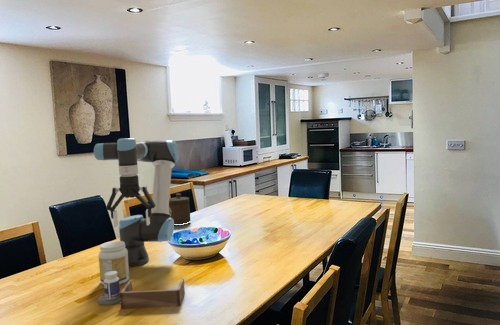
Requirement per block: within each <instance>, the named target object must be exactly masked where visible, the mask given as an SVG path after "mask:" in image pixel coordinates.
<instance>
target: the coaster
mask: <svg viewBox="0 0 500 325" xmlns="http://www.w3.org/2000/svg"><path fill="white" fill-rule="evenodd" d="M97 298H98V299H97V303H98V304H99V305H101V306H113V305H118V304H121V303H120V297H118V298H117V299H113V300H107V299H106V298H105V294H102V295H101V296H99V297H97Z"/></svg>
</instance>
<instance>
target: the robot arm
mask: <svg viewBox="0 0 500 325" xmlns="http://www.w3.org/2000/svg"><path fill="white" fill-rule="evenodd" d="M116 141H117V142H105V143H104V142H102V143H96V144H95V145H94V147H93V155H94V158H95V159H96V160H98V161H115V160H117V161H118V173H119V174H118V175H119V187H116V186H115V187H112V191H111V195H110V196H109V200H108V202H107V205H106V207H105V210H107V211H110V218H111V219H112V220H113V227H114V228H116V227H118V229H119V230H118V232H119V241H123V242H125V248H126V249H127V251H128V264H129V267H137V266H142V265H144V264H146V263H148V262H149V261H150V257H149V254H148V251H147V248H146V245H145V242H147V243H153V242H156V243H157V242H158V243H162V242H168V241H170V240H171V239H172V237H173V234H174V231H175V226H174V220H173V218H171V215H170V214H169V199H170V192H171V179H172V169H173V168H174V167H175V164H176V163H177V162H179V160H180V151H179V148H178V144H177V142H176V141H175V140H173V139H171V140H170V139H165V140H164V139H162V140H161V139H159V140H146V141H145V140H144V141H137V140H136V138H134V137H130V138H127V137H125V138H118V140H116ZM138 162H143V163H152V165H153V166H154V176H153V184H152V185H153V186H152V196H151V195H150V193H149V191H148V187H147V185H144V186H140V184H139V175H138V174H139V168H138V167H139V166H138ZM140 191H141V192H142V193H143V194H144V197H145V198H144V197H143V196H142V194H140V193H139V192H140ZM119 192H120V196H119V197H118V199H117V200H116V201H115V198H116V197H117V194H118V193H119ZM128 198H130V199H131V198H136V199H137V200H138V201H139V202H140V203H141V204H142V205H143V206H144V207H145V208H146V210H145V218H144V215H143V214H136V215H135V214H134V215H131V216H126V217H124V218H122V219H120V221H119V219H118V210H117V207H118V206H119V205H120V203H121V202H122V201H123V199H128ZM114 201H115V202H114ZM113 202H114V204H113ZM118 221H119V222H118Z"/></svg>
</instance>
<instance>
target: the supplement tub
mask: <svg viewBox="0 0 500 325" xmlns="http://www.w3.org/2000/svg"><path fill="white" fill-rule="evenodd" d="M99 247H100V248H99V250H100V251H99V253H98V266H99V277H100V278H99V280H100V281H99V282H100V283H101V284H102V285H103V286H104V279H105V273H106V272H109V271H117V277H118V278H119V285H122V284H125V283H128V282H129V281H130V280H129V279H130V268H129V264H128V251H127V249H126V248H125V242H123V241H120V240H113V241H107V242H104V243H101V244H100V245H99Z"/></svg>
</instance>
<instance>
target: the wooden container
mask: <svg viewBox="0 0 500 325" xmlns="http://www.w3.org/2000/svg"><path fill="white" fill-rule="evenodd" d="M168 212H169V214H170V215H171V218H173V220H174V224H183V223H187V222H189V221H191V209H190V197H187V196H182V193H179V192H177V193H176V194H175V197H169V208H168Z"/></svg>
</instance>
